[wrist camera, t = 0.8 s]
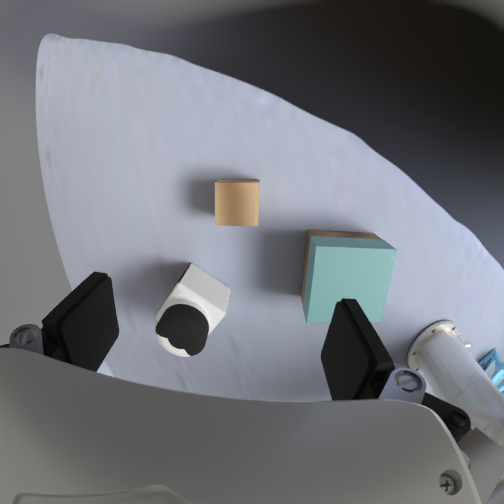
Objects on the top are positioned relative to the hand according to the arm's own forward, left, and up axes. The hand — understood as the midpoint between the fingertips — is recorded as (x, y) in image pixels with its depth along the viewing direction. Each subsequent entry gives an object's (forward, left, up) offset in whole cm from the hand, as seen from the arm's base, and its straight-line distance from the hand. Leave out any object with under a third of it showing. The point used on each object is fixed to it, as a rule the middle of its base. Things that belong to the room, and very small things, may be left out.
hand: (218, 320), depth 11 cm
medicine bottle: (+7, +13, -27) cm, 31 cm away
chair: (-61, +34, -27) cm, 75 cm away
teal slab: (-13, +8, -23) cm, 28 cm away
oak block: (+1, -1, -27) cm, 27 cm away
